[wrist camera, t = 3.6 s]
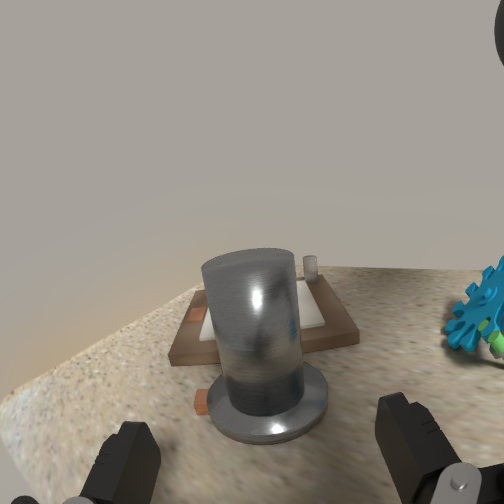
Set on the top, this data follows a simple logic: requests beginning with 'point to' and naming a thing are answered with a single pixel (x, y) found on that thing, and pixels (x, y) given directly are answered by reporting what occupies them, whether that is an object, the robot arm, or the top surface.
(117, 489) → the robot arm
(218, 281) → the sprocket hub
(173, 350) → the mount board
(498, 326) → the gear
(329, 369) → the top surface
